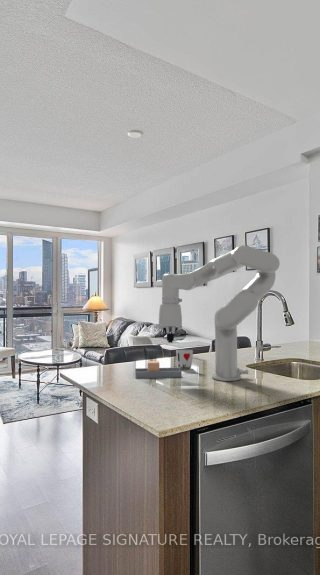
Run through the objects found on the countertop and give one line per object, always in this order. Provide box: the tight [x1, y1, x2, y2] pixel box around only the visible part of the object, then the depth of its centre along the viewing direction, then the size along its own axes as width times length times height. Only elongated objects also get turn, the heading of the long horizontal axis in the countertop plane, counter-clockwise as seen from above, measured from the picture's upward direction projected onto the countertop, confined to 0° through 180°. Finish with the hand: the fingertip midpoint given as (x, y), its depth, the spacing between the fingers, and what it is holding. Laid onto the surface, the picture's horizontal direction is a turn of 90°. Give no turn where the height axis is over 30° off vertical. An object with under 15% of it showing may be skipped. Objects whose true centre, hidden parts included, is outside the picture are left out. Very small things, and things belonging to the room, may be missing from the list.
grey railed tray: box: [134, 366, 182, 379], centre depth 168 cm, size 20×9×4 cm, turn 94°
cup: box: [175, 349, 194, 371], centre depth 183 cm, size 8×8×10 cm
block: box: [147, 360, 160, 372], centre depth 167 cm, size 5×5×6 cm
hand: (170, 342), depth 168 cm, fingers closed
